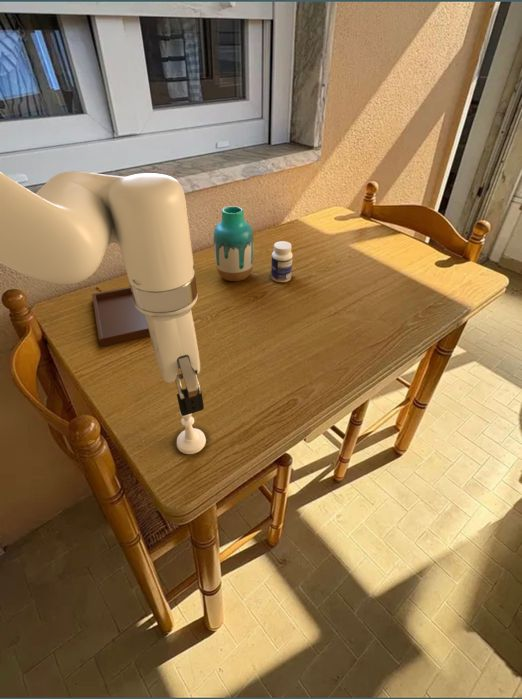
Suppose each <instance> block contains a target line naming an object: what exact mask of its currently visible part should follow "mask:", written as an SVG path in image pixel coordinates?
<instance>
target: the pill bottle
mask: <svg viewBox="0 0 522 699" xmlns="http://www.w3.org/2000/svg"><path fill="white" fill-rule="evenodd" d="M293 256H294V255H293V252H292V243H290V242H289V241H285V240H280V241H276V242H275V243H274V244H273V251H272V253H271V267H270V276H271V279H272V281H274V282H276V283H287V282H288V281H291V279H292V274H293V273H292V272H293V271H292V270H293V260H294V259H293Z"/></svg>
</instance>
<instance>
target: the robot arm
mask: <svg viewBox="0 0 522 699" xmlns="http://www.w3.org/2000/svg"><path fill="white" fill-rule="evenodd" d="M112 243H114V244H117V245H118V246H119V250H120V253H121V257H122V261H123V264H124V268H125V272H126V276H127V280H128V285H129V287H130V288H131V292H132V296H133V299H134V303H135V307H136V308H137V309H138V311H140V312H141V313H143V314H145V316H146V320H147V325H148V329H149V333H150V336H149V337H150V343H151V347H152V350H153V354H154V358H155V360H156V363H157V365H158V369H159V372H160V374H161V377H162V380H163V381H164V382H165V383H167V384H170V383H175V385H176V389H177V392H178V393H176V397H177V398H176V399H177V403H178V407H179V412H181V415H182V416H185V415H188V414H192V415H193V414H195V413H197V412H200V411H203V410H204V409H205V406H204V399H203V393H202V388H201V387H200V382H199V378H198V375H199V374H200V372H201V361H200V353H199V346H198V340H197V332H196V328H195V321H194V317H193V312H192V308H193V307H194V306H195V305H196V303H197V301H198V298H199V296H198V288H197V287H198V286H197V281H196V280H197V278H196V272H195V263H194V256H193V255H194V254H193V248H192V240H191V232H190V222H189V217H188V209H187V200H186V195H185V191H184V187H183V186H182V184H181V183H180V182H179V181H178V179H176V178H174V177H173V176H170V175H167V174H163V173H156V172H155V173H154V172H152V173H151V172H145V173H136V174H130V175H128V176H121V175H120V176H119V175H111V174H102V173H97V172H89V171H80V170H79V171H78V170H77V171H76V170H73V171H72V170H71V171H70V170H69V171H64V172H60V173H58V174H55V175H53V176H52V177H51V178H49V179H48V180H47V181H46V183H45V184H43V186H42V187H41V188H40V189H38V190H37V191H36V193H35V192H34V191H31V190H30V189H28V188H27V187H25V186H23V185H22V184H21V183H19V182H17V181H15V180H14V179H12V178H11V177H9V176H8V175H6V174H4V173H3V172H2V171H0V264H1V265H3V266H5V267H7V268H9V269H11V270H13V271H15V272H17V273H20V274H21V275H24V276H26V277H28V278H32V279H34V280H37V281H40V282H44V283H48V284H53V285H61V286H66V285H68V286H69V285H75V284H78V283H81V282H84V281H85V280H87V279H88V278H90V277H91V276H92V275H94V273H96V271H97V270H98V268H100V265H101V263H102V261H103V259H104V257H105V253H106V251H107V248H108V247H109V245H110V244H112ZM179 370H180V372H181V373H179ZM181 380H183V382H184V386H185V388H184V389H183V386H182V383H181ZM181 415H180V416H181Z"/></svg>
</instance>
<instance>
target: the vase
mask: <svg viewBox="0 0 522 699" xmlns="http://www.w3.org/2000/svg"><path fill="white" fill-rule="evenodd" d="M244 215H245V214H244V209H243V208H242V207H241V206H237V205H229V206H225V207H223V208H222V209H221V221H220V222H218V223H217V224H216V225H215V227H214V229H213V255H214V256H213V257H214V262H215V268H216V271H217V273H218V275H219V276H220V277H221V278H222V279H224V280H225V281H228V282H240V281H244V280H246V279H247V278H248V277H249V276H250V275H251V273H252V271H253V267H254V259H255V258H254V257H255V242H254V231H253V228H252V226H251V225H250V223H248V222H247V221H245V216H244Z"/></svg>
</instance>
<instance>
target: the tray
mask: <svg viewBox="0 0 522 699" xmlns="http://www.w3.org/2000/svg"><path fill="white" fill-rule="evenodd" d="M91 294H92V295H91V297H92V302H93V310H94V316H95V323H96V329H97V336H98V342H99V343H100V347H103V348H104V347H107V346H111V345H115V344H120V343H125V342H128V341H132V340H133V341H134V340H137V339H142V338H145V337H150V333H149V329H148V325H147V320H146V316H145V314H143V313H141V312H140V311H138V309H137V308H136V307H135V303H134V299H133V296H132V292H131V288H130V286H127V287H121V288H115V289H110V290H106V291H100V292H95V293H91Z"/></svg>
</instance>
